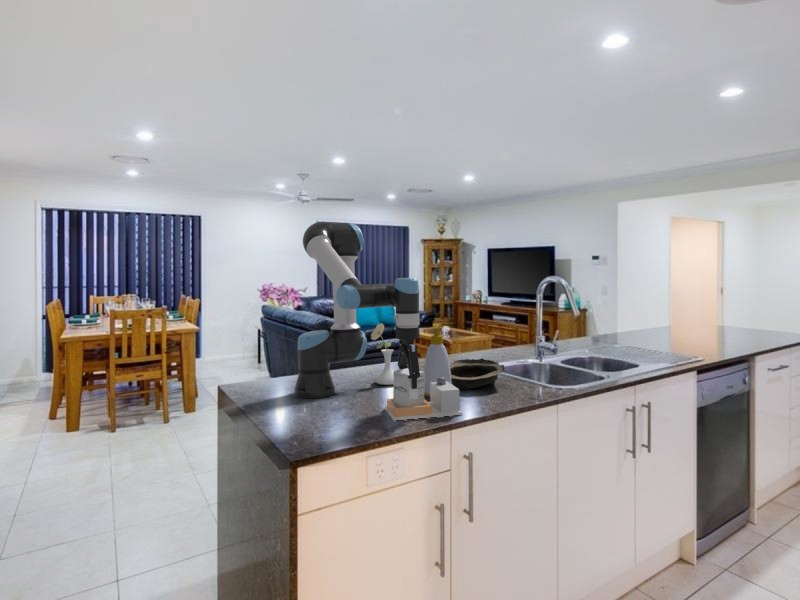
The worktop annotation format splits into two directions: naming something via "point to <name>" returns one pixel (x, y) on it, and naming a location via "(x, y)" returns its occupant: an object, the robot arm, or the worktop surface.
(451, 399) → the tan white boxy piece
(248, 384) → the worktop surface
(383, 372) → the flower in vase
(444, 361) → the soap bottle
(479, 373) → the stone bowl
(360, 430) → the worktop surface
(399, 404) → the supplement box
